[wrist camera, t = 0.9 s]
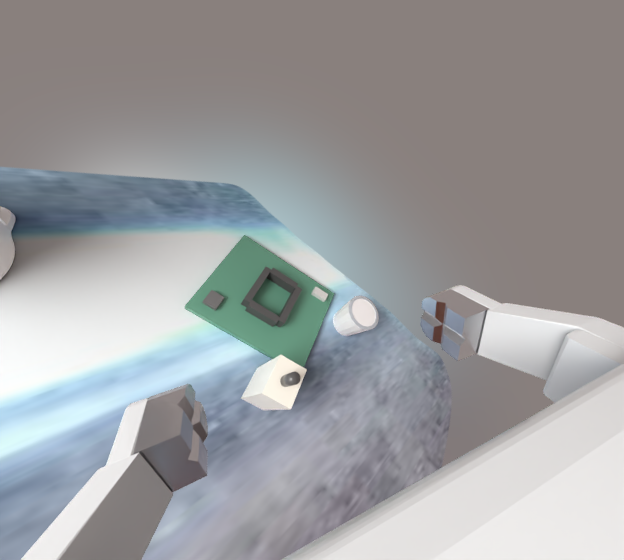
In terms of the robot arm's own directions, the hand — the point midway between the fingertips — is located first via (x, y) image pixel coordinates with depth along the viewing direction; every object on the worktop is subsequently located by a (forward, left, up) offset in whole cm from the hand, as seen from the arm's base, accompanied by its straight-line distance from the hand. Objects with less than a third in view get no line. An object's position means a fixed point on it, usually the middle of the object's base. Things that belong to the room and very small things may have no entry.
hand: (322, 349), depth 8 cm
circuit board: (0, +19, -36) cm, 40 cm away
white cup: (+16, +24, -36) cm, 46 cm away
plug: (+6, +5, -36) cm, 37 cm away
